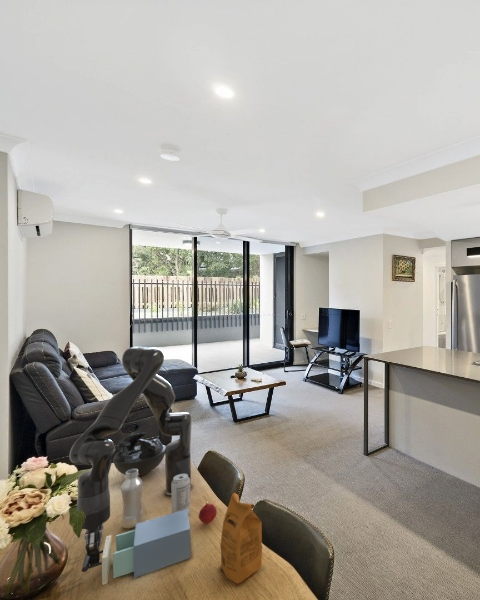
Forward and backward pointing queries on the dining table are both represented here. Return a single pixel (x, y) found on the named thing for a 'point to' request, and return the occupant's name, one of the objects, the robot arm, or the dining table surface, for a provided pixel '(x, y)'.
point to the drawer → (115, 556)
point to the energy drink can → (180, 493)
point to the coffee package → (240, 541)
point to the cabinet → (161, 542)
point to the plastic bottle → (132, 499)
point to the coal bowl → (138, 454)
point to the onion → (207, 513)
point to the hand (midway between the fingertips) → (94, 563)
